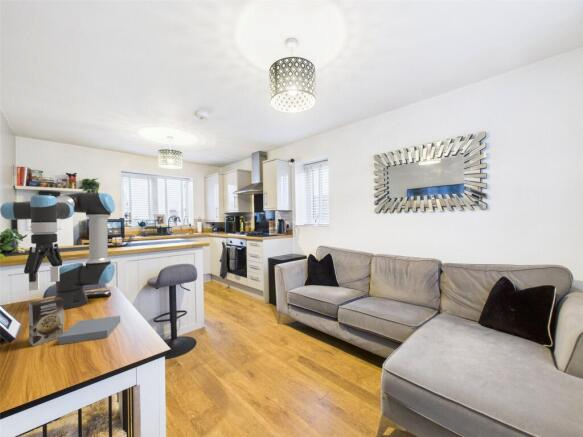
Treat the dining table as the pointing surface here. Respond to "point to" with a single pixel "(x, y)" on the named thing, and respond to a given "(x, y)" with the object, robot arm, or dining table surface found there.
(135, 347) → the dining table surface
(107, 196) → the robot arm
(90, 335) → the base board
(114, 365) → the dining table surface
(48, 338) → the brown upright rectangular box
